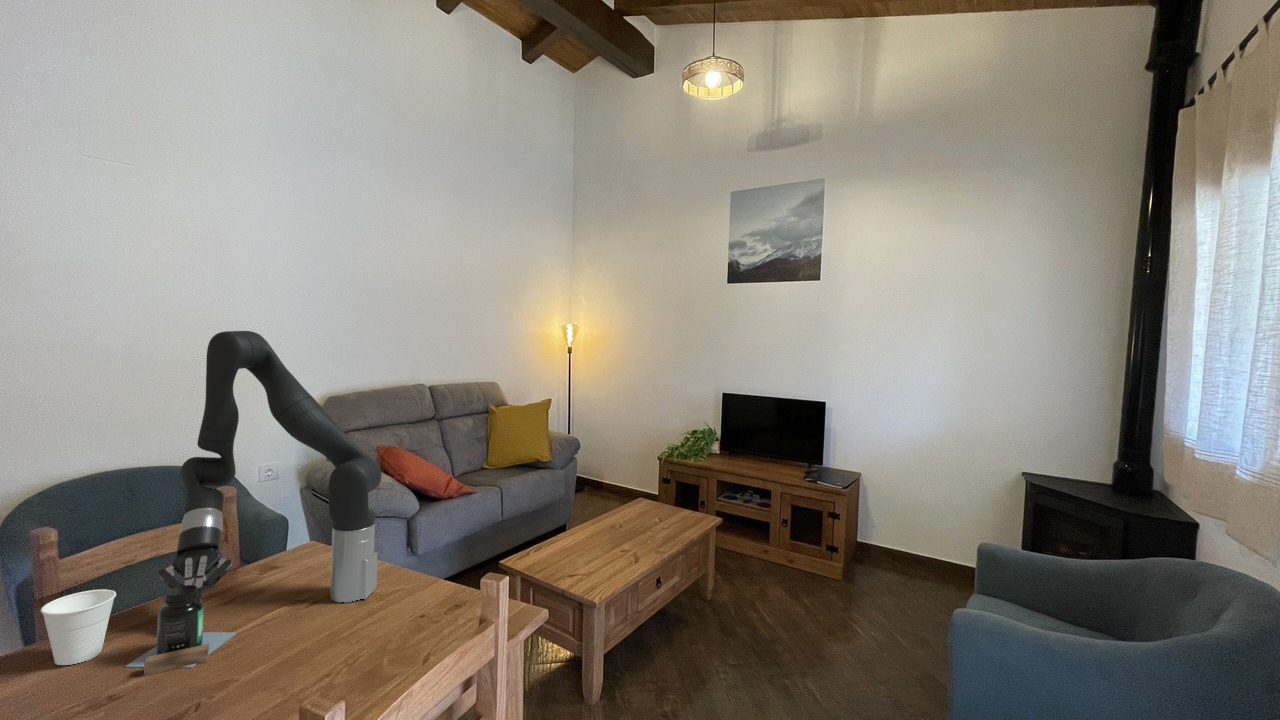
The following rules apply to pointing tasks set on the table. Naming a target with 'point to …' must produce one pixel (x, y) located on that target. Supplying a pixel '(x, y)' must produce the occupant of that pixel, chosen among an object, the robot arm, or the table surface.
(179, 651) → the rail
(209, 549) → the robot arm
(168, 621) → the supplement bottle
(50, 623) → the cup
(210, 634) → the mat
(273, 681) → the table surface
